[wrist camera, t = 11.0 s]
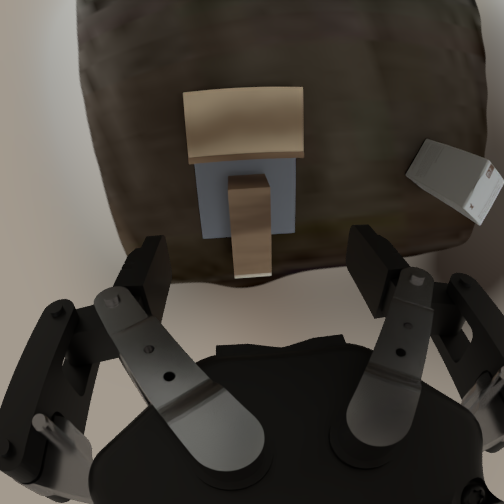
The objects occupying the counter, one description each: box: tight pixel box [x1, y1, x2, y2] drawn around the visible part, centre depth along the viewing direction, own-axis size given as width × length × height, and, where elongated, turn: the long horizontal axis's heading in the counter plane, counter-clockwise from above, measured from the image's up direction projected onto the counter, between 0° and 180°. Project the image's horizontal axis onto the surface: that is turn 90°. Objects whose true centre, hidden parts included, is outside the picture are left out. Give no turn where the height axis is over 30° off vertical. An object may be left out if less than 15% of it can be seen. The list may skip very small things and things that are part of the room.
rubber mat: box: [195, 158, 296, 239], centre depth 33 cm, size 10×11×1 cm
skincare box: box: [406, 139, 504, 225], centre depth 27 cm, size 6×4×12 cm
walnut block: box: [228, 174, 272, 278], centre depth 32 cm, size 5×4×10 cm
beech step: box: [183, 87, 304, 164], centre depth 27 cm, size 7×11×4 cm, turn 92°
